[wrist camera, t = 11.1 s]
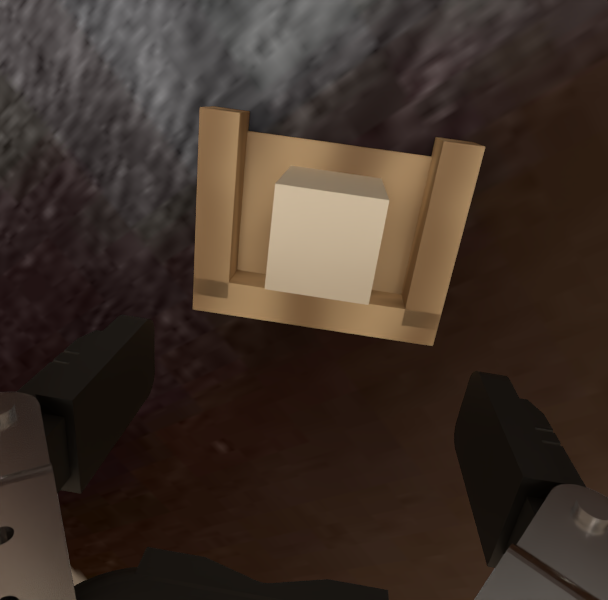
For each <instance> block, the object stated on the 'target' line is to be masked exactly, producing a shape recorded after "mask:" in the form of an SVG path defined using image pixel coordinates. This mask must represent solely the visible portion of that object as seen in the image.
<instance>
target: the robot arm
mask: <svg viewBox="0 0 608 600" xmlns="http://www.w3.org/2000/svg"><path fill="white" fill-rule="evenodd" d="M154 372H155V367H154V324H153V321H152V320H151V319H145V318H139V317H132V316H126V315H120V316H119V317H117V318H116V319H115V320H114V321H113V322H112V323H111V324H110V325H109V326H108V327H107V328H106V329H105V330H104V331H97V330H96V331H94V332H92V333H90V334H87V335H85V336H83V337H81V338H78V339H77V340H75V341H74V342H73V343H72V344H71V345H70V346H69V347H67V348H66V349H65V350H64V353H61V354H60V355H58V356H57V357H56V358H55V359H54V361H53V362H50V363H49V364H48V365H47V366H46V367H45V368H44V369H42V370H41V371H40V372H39V373H38V374H37V375H36V376H34V377H33V378H32V379H31V380H30V381H29V382H28V383H26V384H25V385H24V386H23V387H22V388H21V389H20V390H18V391H17V392H2V393H0V600H389V599H388V590H384V589H378V588H373V587H367V586H362V585H356V584H351V583H345V582H339V581H334V580H328V579H326V580H312V581H298V582H283V583H261V582H258V581H256V580H253V579H251V578H249V577H247V576H245V575H243V574H240V573H238V572H236V571H234V570H232V569H229V568H227V567H225V566H223V565H221V564H219V563H216V562H214V561H212V560H210V559H208V558H205V557H200V556H195V555H189V554H183V553H178V552H172V551H167V550H161V549H156V548H150V547H147V549H146V551H145V553H144V555H143V557H142V559H141V561H140V564H139V566H138V567H133V568H126V569H120V570H115V571H111V572H108V573H104V574H101V575H98V576H95V577H93V578H90V579H88V580H85V581H83V582H81V583H79V584H77V585H76V586H74V585H73V580H72V573H71V568H70V562H69V557H68V551H67V546H66V540H65V534H64V529H63V523H62V518H61V512H60V507H59V501H58V496H57V494H58V492H59V491H60V490H64V491H70V492H75V493H82V491H83V490H84V488H85V487H86V486H87V484H88V483H89V481H90V480H91V478H92V477H93V475H94V474H95V473H96V471H97V470H98V468H99V467H100V465H101V464H102V462H103V461H104V459H105V458H106V457H107V455H108V454H109V452H110V451H111V449H112V448H113V446H114V445H115V444H116V442H117V441H118V439H119V438H120V436H121V435H122V433H123V432H124V431H125V429H126V428H127V426H128V425H129V423H130V422H131V420H132V419H133V418H134V416H135V415H136V413H137V412H138V410H139V409H140V407H141V406H142V405H143V403H144V402H145V400H146V399H147V397H148V396H149V394H150V391H151V388H152V385H153V381H154ZM454 443H455V450H456V453H457V457H458V461H459V464H460V468H461V472H462V475H463V479H464V483H465V486H466V490H467V494H468V497H469V501H470V504H471V508H472V512H473V515H474V519H475V523H476V526H477V530H478V534H479V537H480V541H481V545H482V548H483V552H484V556H485V559H486V563H487V566H488V567H494V568H495V569H494V571H493V572H492V574H491V575H490V577H489V578H488V580H487V581H486V583H485V584H484V586H483V587H482V589H481V591H480V592H479V594H478V595H477V597H476V598H475V600H608V498H607V497H605V496H603V495H602V494H600V493H598V492H596V491H594V490H591V489H589V488H586V486H585V484H584V483H583V481H582V479H581V478H580V476H579V474H578V472H577V471H576V469H575V467H574V465H573V464H572V462H571V460H570V459H569V457H568V455H567V453H566V452H565V450H564V448H563V446H560V441H559V440H558V438H557V436H556V434H555V433H553V429H552V427H551V426H550V424H549V422H548V421H547V419H546V417H545V415H544V414H543V413H542V412H541V411H539V410H538V409H537V408H536V407H535V406H534V405H533V404H532V403H531V402H529V401H528V400H526V399H519V397H518V395H517V393H516V391H515V389H514V387H513V385H512V383H511V382H510V380H509V378H508V377H507V376H503V375H497V374H491V373H484V372H478V371H475V372H473V373H472V375H471V377H470V380H469V383H468V386H467V389H466V392H465V396H464V399H463V402H462V405H461V409H460V412H459V415H458V418H457V422H456V426H455V433H454Z"/></svg>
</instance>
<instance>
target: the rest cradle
mask: <svg viewBox="0 0 608 600" xmlns="http://www.w3.org/2000/svg"><path fill="white" fill-rule="evenodd" d="M249 115H250V111H244V110H236V109H229V108H222V107H215V106H211V107H200V115H199V144H198V173H197V201H196V230H195V259H194V288H193V309H194V310H200V311H207V312H213V313H220V314H226V315H233V316H239V317H246V318H252V319H259V320H266V321H272V322H279V323H285V324H292V325H298V326H305V327H311V328H318V329H324V330H331V331H337V332H344V333H350V334H357V335H364V336H370V337H377V338H383V339H390V340H396V341H403V342H409V343H416V344H422V345H429V346H433V343H434V339H435V336H436V332H437V328H438V324H439V321H440V317H441V313H442V309H443V305H444V302H445V298H446V294H447V290H448V287H449V283H450V279H451V275H452V271H453V268H454V264H455V260H456V256H457V252H458V249H459V245H460V241H461V237H462V234H463V230H464V226H465V222H466V218H467V215H468V211H469V207H470V203H471V200H472V196H473V192H474V188H475V184H476V181H477V177H478V173H479V169H480V166H481V162H482V158H483V154H484V150H485V146H482V145H479V144H477V143H474V142H468V141H461V140H454V139H446V138H439V137H435V142H434V146H433V151H432V155H431V156H425V155H418V154H410V153H403V152H396V151H389V150H382V149H375V148H367V147H360V146H353V145H346V144H339V143H331V142H324V141H317V140H310V139H303V138H296V137H288V136H281V135H274V134H267V133H260V132H253V131H248V129H249ZM291 165H292V166H299V167H306V168H313V169H319V170H326V171H333V172H340V173H347V174H354V175H361V176H368V177H375V178H381V179H382V181H383V184H384V187H385V189H386V192H387V195H388V198H389V205H388V210H387V215H386V220H385V225H384V230H383V235H382V240H381V245H380V250H379V255H378V260H377V265H376V270H375V275H374V280H373V285H372V290H371V296H370V301H369V305H365V304H358V303H352V302H345V301H339V300H332V299H326V298H319V297H313V296H306V295H300V294H293V293H287V292H280V291H274V290H267V289H265V279H266V270H267V260H268V250H269V240H270V230H271V221H272V211H273V201H274V191H275V183H276V182H277V181H278V180H279V179H280V178H281V176H282V175H283V174H284V173H285V172H286V171H287V170H288V168H289V167H290V166H291Z"/></svg>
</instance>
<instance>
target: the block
mask: <svg viewBox="0 0 608 600" xmlns="http://www.w3.org/2000/svg"><path fill="white" fill-rule="evenodd" d="M388 205H389V198H388V195H387V192H386V189H385V187H384V184H383V181H382V179H381V178H375V177H368V176H361V175H354V174H347V173H340V172H333V171H326V170H319V169H313V168H306V167H299V166H292V165H291V166H290V167H289V168H288V170H287V171H286V172H285V173H284V174H283V175H282V176H281V178H280V179H279V180H278V181H277V182H276V183H275V191H274V201H273V211H272V221H271V230H270V240H269V250H268V260H267V270H266V279H265V289H267V290H274V291H280V292H287V293H293V294H300V295H306V296H313V297H319V298H326V299H332V300H339V301H345V302H352V303H358V304H365V305H369V301H370V296H371V290H372V285H373V280H374V275H375V270H376V265H377V260H378V255H379V250H380V245H381V240H382V235H383V230H384V225H385V220H386V215H387V210H388Z"/></svg>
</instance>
